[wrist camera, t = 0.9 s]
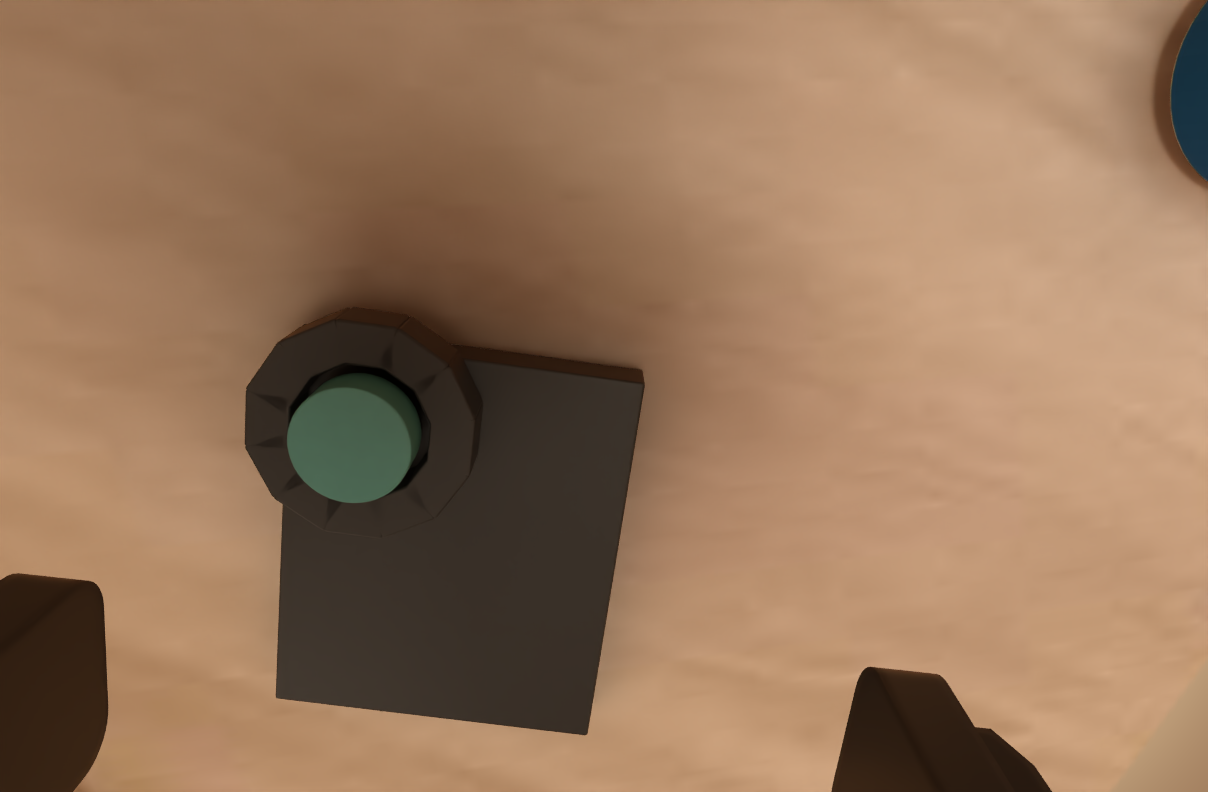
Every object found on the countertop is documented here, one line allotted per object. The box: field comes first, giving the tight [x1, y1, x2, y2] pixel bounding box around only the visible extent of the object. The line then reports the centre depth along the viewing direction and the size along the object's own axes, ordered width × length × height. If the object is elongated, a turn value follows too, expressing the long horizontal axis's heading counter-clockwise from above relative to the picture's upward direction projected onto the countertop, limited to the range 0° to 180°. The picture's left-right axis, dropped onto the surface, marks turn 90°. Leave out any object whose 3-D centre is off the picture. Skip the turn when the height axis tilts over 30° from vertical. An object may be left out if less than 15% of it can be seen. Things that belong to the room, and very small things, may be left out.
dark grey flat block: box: [245, 307, 645, 735], centre depth 26 cm, size 13×10×3 cm
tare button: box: [287, 373, 421, 503], centre depth 23 cm, size 3×3×1 cm
